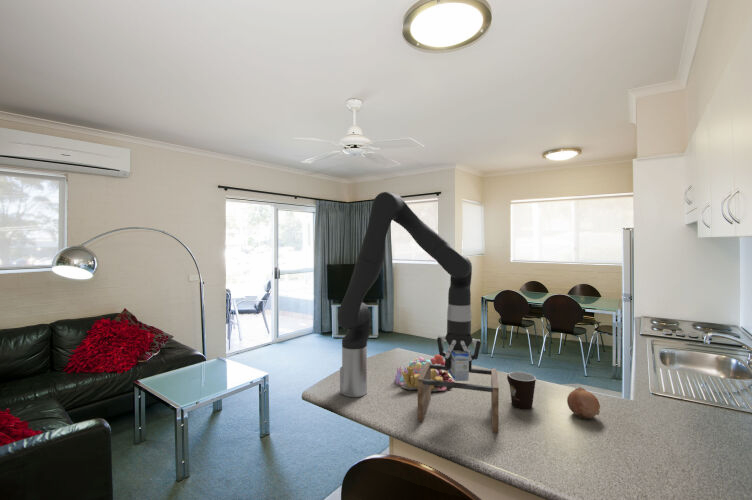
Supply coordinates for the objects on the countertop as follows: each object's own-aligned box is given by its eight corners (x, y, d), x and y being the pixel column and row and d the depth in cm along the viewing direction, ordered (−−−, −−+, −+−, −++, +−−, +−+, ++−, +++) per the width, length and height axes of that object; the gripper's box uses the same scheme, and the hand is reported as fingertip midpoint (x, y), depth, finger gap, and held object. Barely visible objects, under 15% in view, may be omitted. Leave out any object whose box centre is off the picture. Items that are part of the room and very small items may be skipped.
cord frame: (417, 421, 109) (417, 379, 109) (426, 398, 125) (426, 362, 125) (498, 432, 102) (498, 388, 102) (496, 407, 118) (496, 368, 118)
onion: (576, 419, 116) (571, 388, 120) (606, 421, 110) (601, 388, 114) (564, 417, 111) (560, 385, 115) (596, 419, 104) (590, 385, 109)
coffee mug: (538, 412, 115) (538, 382, 115) (510, 410, 116) (510, 380, 116) (530, 397, 126) (530, 369, 126) (505, 395, 128) (505, 368, 128)
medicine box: (447, 372, 118) (448, 346, 117) (461, 372, 118) (461, 346, 118) (455, 381, 110) (455, 353, 110) (469, 381, 110) (469, 353, 110)
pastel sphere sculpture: (460, 394, 130) (460, 369, 130) (396, 394, 130) (396, 369, 130) (447, 370, 155) (447, 349, 155) (393, 370, 155) (393, 349, 155)
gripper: (435, 318, 112) (434, 371, 112) (482, 322, 108) (481, 377, 108) (437, 314, 119) (437, 364, 119) (482, 317, 115) (481, 368, 115)
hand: (458, 370), depth 114 cm, fingers closed on medicine box, 5 cm apart
